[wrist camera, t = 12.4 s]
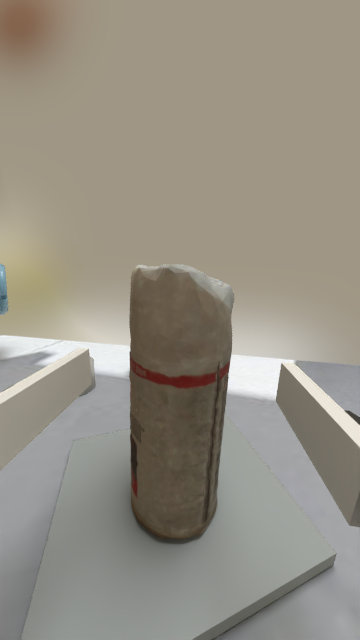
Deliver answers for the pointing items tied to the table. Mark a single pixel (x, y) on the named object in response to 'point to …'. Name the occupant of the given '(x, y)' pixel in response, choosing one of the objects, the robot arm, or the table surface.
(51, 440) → the table surface
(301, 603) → the table surface
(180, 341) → the red-banded paper cylinder
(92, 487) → the slate board
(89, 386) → the white rounded cylinder
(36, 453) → the table surface
